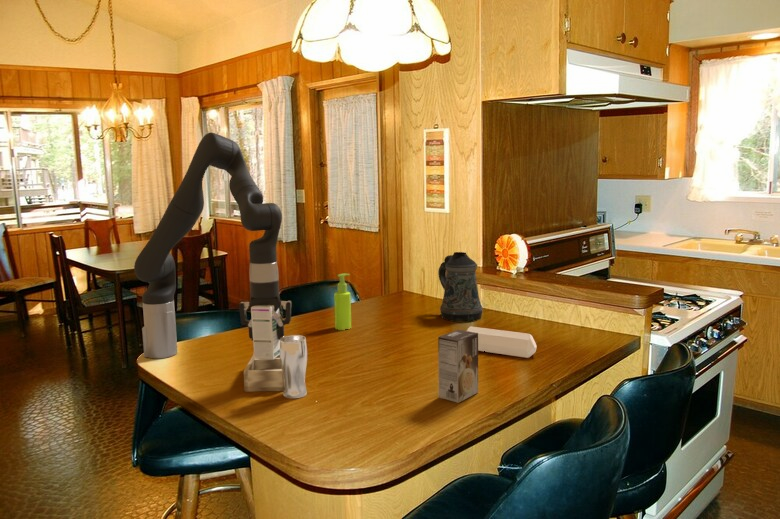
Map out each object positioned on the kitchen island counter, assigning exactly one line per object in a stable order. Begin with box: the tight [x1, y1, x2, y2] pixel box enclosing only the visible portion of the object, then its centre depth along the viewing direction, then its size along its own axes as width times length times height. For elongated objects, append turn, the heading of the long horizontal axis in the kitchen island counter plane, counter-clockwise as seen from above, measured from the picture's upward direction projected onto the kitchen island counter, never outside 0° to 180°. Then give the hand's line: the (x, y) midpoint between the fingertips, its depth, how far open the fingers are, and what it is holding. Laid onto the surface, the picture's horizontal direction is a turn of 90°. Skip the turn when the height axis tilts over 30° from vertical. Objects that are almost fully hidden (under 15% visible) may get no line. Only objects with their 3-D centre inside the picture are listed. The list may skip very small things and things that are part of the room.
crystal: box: [466, 325, 537, 359], centre depth 191 cm, size 7×7×24 cm
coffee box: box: [437, 329, 479, 404], centre depth 153 cm, size 9×6×16 cm
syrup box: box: [250, 305, 280, 360], centre depth 162 cm, size 6×6×14 cm
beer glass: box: [280, 334, 308, 400], centre depth 155 cm, size 7×7×15 cm
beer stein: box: [437, 251, 484, 322], centre depth 234 cm, size 16×19×25 cm
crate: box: [243, 353, 284, 393], centre depth 169 cm, size 11×20×6 cm, turn 3°
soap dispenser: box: [333, 272, 352, 331], centre depth 220 cm, size 6×7×20 cm
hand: (267, 339), depth 163 cm, fingers closed on syrup box, 6 cm apart
